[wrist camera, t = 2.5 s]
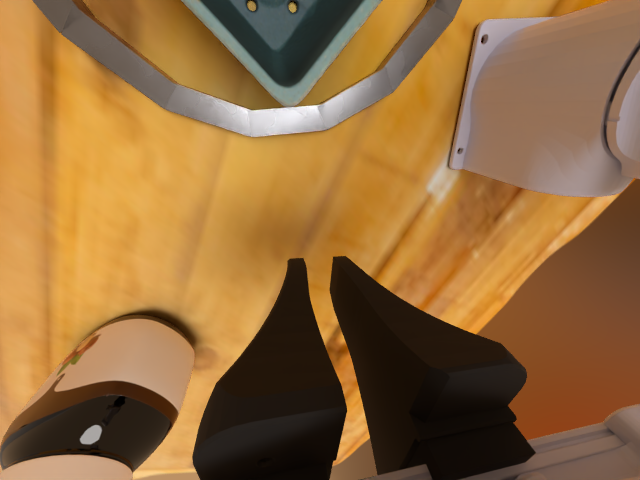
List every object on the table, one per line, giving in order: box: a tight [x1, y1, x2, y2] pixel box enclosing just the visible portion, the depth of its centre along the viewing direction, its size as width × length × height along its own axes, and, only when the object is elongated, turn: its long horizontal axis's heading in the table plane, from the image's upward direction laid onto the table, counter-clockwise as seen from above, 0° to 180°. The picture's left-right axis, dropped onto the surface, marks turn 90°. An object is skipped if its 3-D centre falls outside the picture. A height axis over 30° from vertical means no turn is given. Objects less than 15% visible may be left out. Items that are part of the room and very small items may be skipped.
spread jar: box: [0, 315, 195, 480], centre depth 19 cm, size 12×11×12 cm
